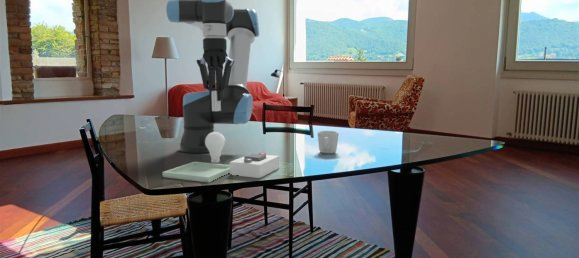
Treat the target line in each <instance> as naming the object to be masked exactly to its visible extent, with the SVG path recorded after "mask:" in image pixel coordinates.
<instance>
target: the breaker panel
mask: <svg viewBox="0 0 579 258" xmlns="http://www.w3.org/2000/svg"><path fill="white" fill-rule="evenodd" d="M250 154H251V153H249V154H248V155H250ZM258 154H263V155H266V159H264V160H261V161H252V159H249V158H247V159H244V156H241V157H239V158H236V159H233V160H232V161H229V165H230V174H232V175H231V176H236V175H239V176H238V177H244V178H245V177H248V178H255V179H260V178H263V177H265V176H267V175H268V174H270V173H273V172H274V171H277V170H278V169H280V155H270V154H267V153H266V152H259V153H258Z"/></svg>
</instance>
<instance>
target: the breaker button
mask: <svg viewBox="0 0 579 258" xmlns="http://www.w3.org/2000/svg"><path fill="white" fill-rule="evenodd" d="M249 154H250V155H249ZM249 154H247V155H244V156H243V157H244V159H247V158H249V159H252V161H261V160H264V159H266V155H267V154H266V155H263V154H259V153H249Z"/></svg>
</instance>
